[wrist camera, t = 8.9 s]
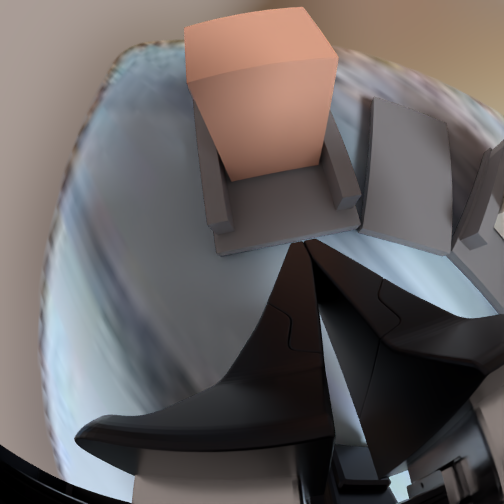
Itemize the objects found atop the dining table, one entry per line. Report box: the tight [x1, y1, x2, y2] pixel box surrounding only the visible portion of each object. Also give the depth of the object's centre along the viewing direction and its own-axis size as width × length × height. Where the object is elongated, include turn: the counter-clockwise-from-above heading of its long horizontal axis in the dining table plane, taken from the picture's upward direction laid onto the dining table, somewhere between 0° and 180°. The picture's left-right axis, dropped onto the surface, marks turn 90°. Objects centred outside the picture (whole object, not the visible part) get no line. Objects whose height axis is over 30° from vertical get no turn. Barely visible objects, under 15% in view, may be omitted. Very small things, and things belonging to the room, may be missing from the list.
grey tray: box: [188, 87, 504, 314], centre depth 13 cm, size 13×30×4 cm, turn 75°
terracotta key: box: [184, 7, 339, 182], centre depth 11 cm, size 4×5×8 cm
